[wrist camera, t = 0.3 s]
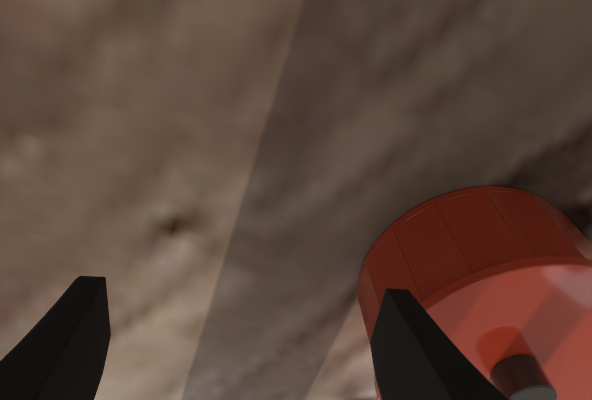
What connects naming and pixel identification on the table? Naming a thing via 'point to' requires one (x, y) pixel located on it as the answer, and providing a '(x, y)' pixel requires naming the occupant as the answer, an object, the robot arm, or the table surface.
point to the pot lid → (523, 325)
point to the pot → (462, 242)
